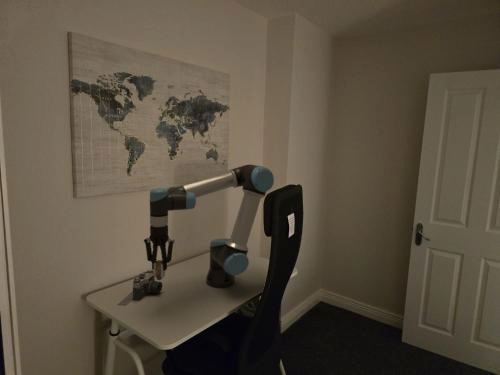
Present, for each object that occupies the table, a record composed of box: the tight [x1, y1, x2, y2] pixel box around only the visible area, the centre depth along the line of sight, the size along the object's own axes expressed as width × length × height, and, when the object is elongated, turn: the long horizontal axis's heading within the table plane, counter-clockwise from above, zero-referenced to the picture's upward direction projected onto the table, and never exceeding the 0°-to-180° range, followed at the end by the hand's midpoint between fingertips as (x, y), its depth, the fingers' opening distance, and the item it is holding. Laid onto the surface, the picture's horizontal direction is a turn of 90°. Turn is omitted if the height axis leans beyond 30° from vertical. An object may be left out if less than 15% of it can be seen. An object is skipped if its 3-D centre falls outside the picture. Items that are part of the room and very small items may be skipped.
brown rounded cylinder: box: [156, 259, 163, 281], centre depth 144 cm, size 3×3×8 cm
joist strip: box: [117, 290, 133, 306], centre depth 156 cm, size 4×17×1 cm, turn 171°
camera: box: [132, 269, 163, 302], centre depth 158 cm, size 16×10×10 cm, turn 168°
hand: (159, 276), depth 145 cm, fingers closed on brown rounded cylinder, 2 cm apart
